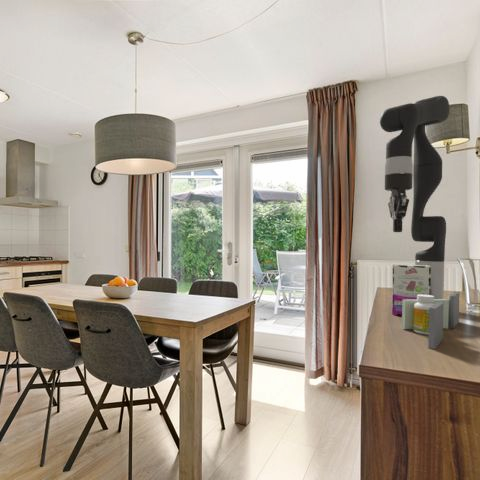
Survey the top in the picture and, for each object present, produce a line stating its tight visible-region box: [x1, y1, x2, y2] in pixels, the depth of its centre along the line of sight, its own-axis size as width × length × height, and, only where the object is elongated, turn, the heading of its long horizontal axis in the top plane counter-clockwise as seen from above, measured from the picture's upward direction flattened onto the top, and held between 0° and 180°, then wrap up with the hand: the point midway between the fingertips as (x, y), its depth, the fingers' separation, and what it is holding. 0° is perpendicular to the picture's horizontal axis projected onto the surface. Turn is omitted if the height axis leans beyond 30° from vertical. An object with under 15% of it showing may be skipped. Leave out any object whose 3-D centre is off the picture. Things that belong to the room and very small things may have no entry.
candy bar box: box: [391, 264, 431, 317], centre depth 114 cm, size 11×5×16 cm, turn 68°
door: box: [401, 298, 449, 330], centre depth 96 cm, size 13×1×8 cm, turn 99°
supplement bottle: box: [413, 294, 435, 336], centre depth 93 cm, size 5×5×10 cm
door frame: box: [427, 291, 460, 350], centre depth 92 cm, size 36×2×9 cm, turn 141°
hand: (397, 232), depth 105 cm, fingers closed
